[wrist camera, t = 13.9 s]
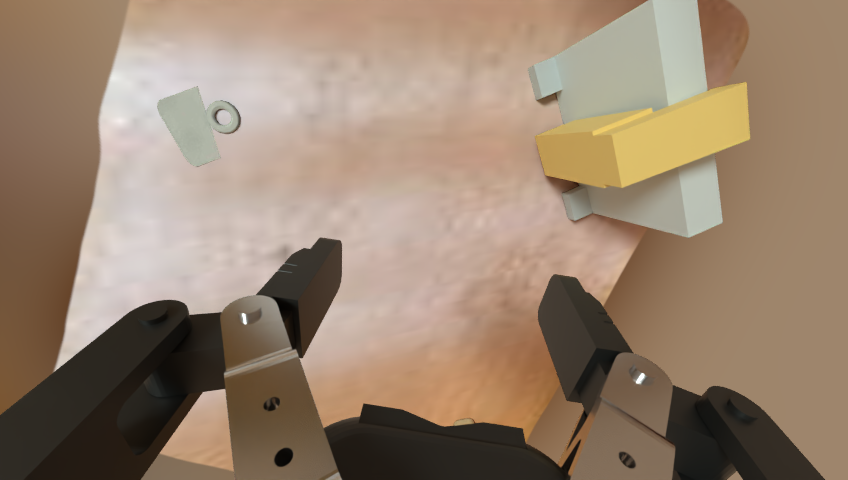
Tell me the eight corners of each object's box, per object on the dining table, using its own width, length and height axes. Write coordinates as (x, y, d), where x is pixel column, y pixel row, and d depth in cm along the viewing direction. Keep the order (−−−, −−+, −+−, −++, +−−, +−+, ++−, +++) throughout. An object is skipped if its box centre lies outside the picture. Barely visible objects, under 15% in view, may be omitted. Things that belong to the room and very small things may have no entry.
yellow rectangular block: (534, 136, 30) (610, 129, 18) (615, 103, 29) (746, 76, 18) (545, 175, 31) (622, 192, 20) (623, 144, 30) (750, 144, 19)
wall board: (527, 68, 30) (619, 11, 18) (593, 40, 30) (726, -34, 18) (568, 218, 34) (662, 249, 23) (625, 193, 34) (748, 211, 23)
